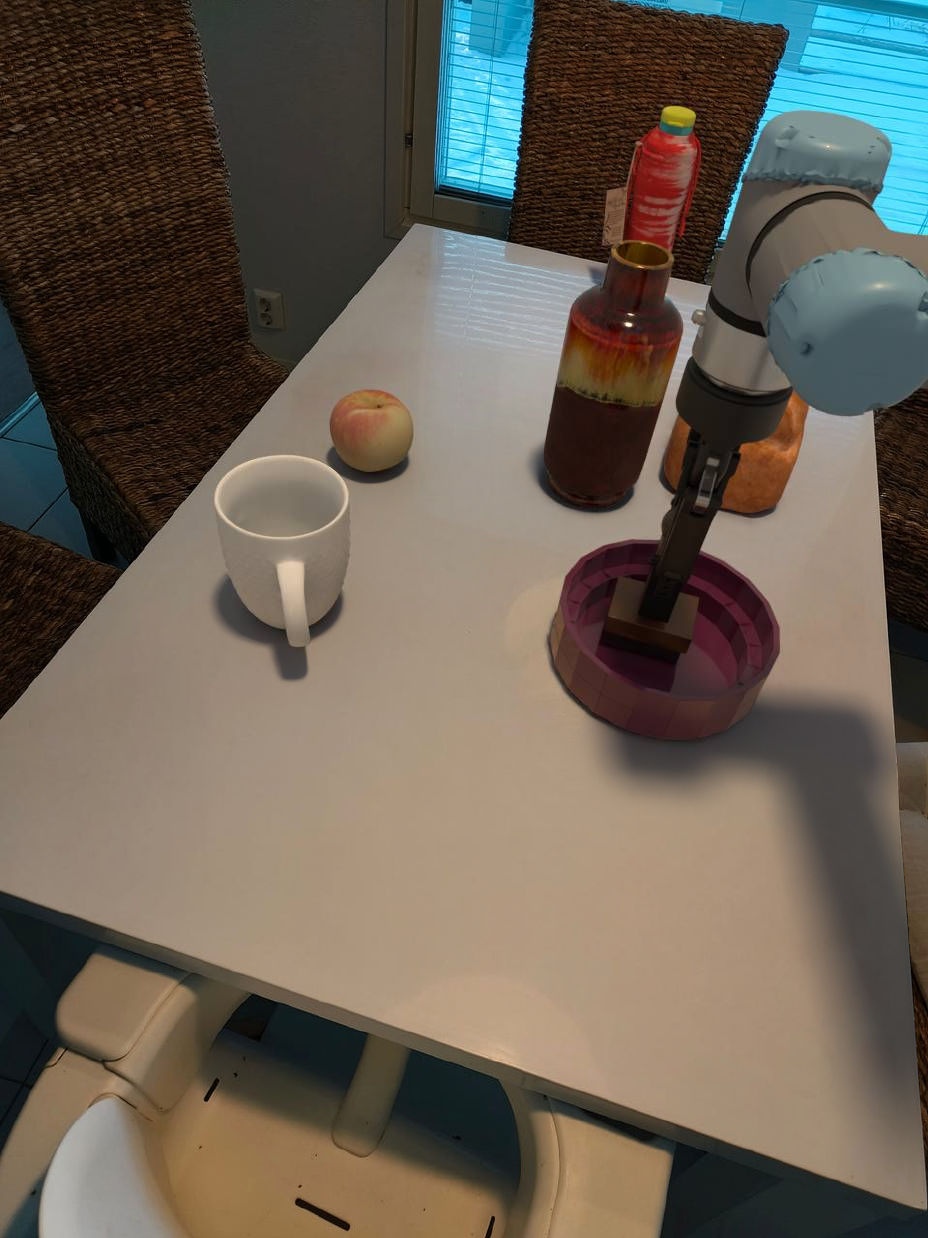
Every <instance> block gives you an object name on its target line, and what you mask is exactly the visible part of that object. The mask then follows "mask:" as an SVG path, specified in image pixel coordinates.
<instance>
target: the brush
mask: <svg viewBox="0 0 928 1238" xmlns="http://www.w3.org/2000/svg"><path fill="white" fill-rule="evenodd" d="M676 508H677V506H675V507H673V508H671V507H670V509H669V510H667V512H666V513H665V514H664V516H663V517H662V520H661V523H660V525H661V526H660V528H661V530H660V531H661V536H662V538H661V537H660V539H661V541H660V544H659V547H658V549H657V552H656V555H658V556H660V555H661V552H662V549H663V546H664V543H665V540H666V537H667V534H668V531H669V528H670V525H671V522H672V519H673V517H674V514H675V511H676ZM662 534H663V535H662ZM653 567H654V566H652V567H651V570H650V573H649V575H648V578H647V581H646V584H645V582H641V581H637V580H634V579H630V578H627V577H623V576H618V579H617V582H616V586H615V589H614V592H613V596H612V600H611V603H610V607H609V610H608V614H607V618H606V621H605V625H604V629H603V630H604V631H607V632H606V636H605V640H604V644H608V645H611V646H615V647H618V648H622V649H625V650H629V651H632V652H635V653H639V654H642V655H646V656H649V657H653V658H656V659H660V660H663V661H667V662H670V663H674V664H676V663H677V661H678V659H679V656H680V654H681V653H683V654H686V653H687V651H688V649H689V646H690V644H691V642H692V639H693V633H694V627H695V621H696V615H697V609H698V604H699V597H695V596H692V595H688V594H684V593H681V592H680V593H679V596H678V598H677V601H676V604H675V606H674V609H673V611H672V614H671V616H670V619H669V621H668V623H665V622H661V621H658V620H654V619H651V618H647V617H644V616H640V615H638V611H639V608H640V605H641V602H642V599H643V596H644V593H645V590H646V587H647V585H648V582H649V579H650V576H651V573H652V570H653ZM644 586H645V587H644Z"/></svg>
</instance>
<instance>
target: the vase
mask: <svg viewBox="0 0 928 1238" xmlns="http://www.w3.org/2000/svg"><path fill="white" fill-rule="evenodd" d="M674 261H675V257H674V255H673V254H672V252H671V253H670V251H668V250H667V249H665V248H664V247H662V246H660V245H657V244H654V243H651V242H646V241H640V240H625V241H620V242H618V243H616V244H614V245H613V246H611V249H610V251H609V255H608V260H607V264H606V267H605V273H604V277H603V281H602V283H600V284H596V285H594V286H591V287H590V288H588V289H586V290H585V291H583V292H582V293H581V294H580V295H578V297H576V299H575V300H573V303H572V304H571V306H570V309H569V314H568V319H567V322H566V328H565V332H564V337H563V343H562V348H561V354H560V359H559V364H558V368H557V369H558V370H557V375H556V379H555V385H554V391H553V396H552V401H551V407H550V411H549V418H548V423H547V427H546V434H545V439H544V446H543V452H542V461H543V464H544V468H545V469H546V471H547V477H546V478H547V483H548V486H549V488H550V490H551V491H552V493H553V494H555V495H556V496H557V497H558V498H559V499H561V500H563V501H565V502H566V503H568V504H571V505H573V506H576V507H580V508H585V509H604V508H609V507H612V506H615V505H616V504H618V503H620V502H621V501H622V500H623V499H624V498H625V497H626V493H627V490H629V489H630V488H632V487H633V486H634V485H635V484H637V482H638V480H639V479H640V477H641V473H642V471H643V468H644V465H645V463H646V460H647V459H646V458H647V456H648V453H649V450H650V446H651V442H652V439H653V436H654V432H655V429H656V426H657V423H658V420H659V417H660V413H661V409H662V407H663V403H664V400H665V396H666V392H667V389H668V386H669V382H670V380H671V376H672V372H673V369H674V367H675V363H676V360H677V356H678V352H679V349H680V345H681V342H682V337H683V334H684V321H683V318H682V315H681V313H680V310H679V309H678V308H677V306H676V305H675V303H674V302H673V301H672V299H670V298H668V297H667V296H666V294H667V292H668V291H667V290H668V288H669V282H670V278H671V275H672V271H673V267H674Z"/></svg>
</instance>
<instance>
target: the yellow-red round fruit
mask: <svg viewBox="0 0 928 1238" xmlns="http://www.w3.org/2000/svg"><path fill="white" fill-rule="evenodd" d="M329 434H330V438H331V441H332V444H333V446H334V448H335V451H336V452H337V454H338V456H339V458H340V459H341V460H342V461H343V462H344V463H345V464H346V465H348V466H349V467H351V468H353V469H355V470H358V471H361V472H367V473H372V472H379V471H384V470H387V469H391V468H392V467H394V466H396V465H398V464H400V463H401V462H402V461H403V460H404V459H405V458H406V456H407V455H408V454H409V451H410V450H411V448H412V444H413V441H414V422H413V418H412V415H411V412H410V410H409V409H408V407H407V406H406V405H405V404H404V403H403V401H401V400H400V398H398V397H397V396H395V395H394V394H393V393H390V392H387V391H384V390H382V389H381V390H380V389H362V390H360V389H359V390H357V391H354V392H351V393H349V394H347V395H345V396H343V397H342V398H341V399H339V400H338V401H337V402H336V404H335V405H334V407H333V409H332V411H331V414H330V418H329Z"/></svg>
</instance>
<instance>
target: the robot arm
mask: <svg viewBox="0 0 928 1238" xmlns="http://www.w3.org/2000/svg"><path fill="white" fill-rule="evenodd" d="M892 153H893V146H892V142H891V140H890V138H889V137H888V136H887V135H886V133H884V132H883V131H882V130H880V129H879V128H877V127H875V126H874V125H872V124H870V123H868V122H865V121H863V120H861V119H857V118H853V117H850V116H847V115H843V114H839V113H835V112H834V113H833V112H827V111H819V110H809V109H808V110H806V109H803V110H802V109H799V110H791V111H785V112H783V113H780V114H777V115H775V116H773V117H772V118H771V119H769V121H767V122H766V124H765V125H764V126H763V127H762V129H761V131H760V134H759V136H758V139H757V142H756V144H755V147H754V150H753V151H752V155H751V157H750V160H749V162H748V164H747V168H746V170H745V172H743V173H742V175H741V179H740V182H741V183H742V184H741V187H740V191H739V194H738V197H737V201H736V204H735V207H734V211H733V213H732V217H731V220H730V223H729V227H728V229H727V233H726V237H725V239H724V242H723V246H722V248H721V249H722V250H721V253H720V256H719V259H718V262H717V266H716V269H715V272H714V276H713V279H712V282H711V286H710V289H709V292H708V296H707V300H706V302H705V310H704V309H695V310H694V311H693V313H692V315H691V318H690V319H691V322H692V323H693V324H694V325H697V326H698V328H697V332H696V335H695V338H694V342H693V345H692V348H691V356H690V357H689V358H688V359H687V361H686V365H685V367H684V371H683V373H682V377H681V380H680V382H679V386H678V390H677V393H676V396H675V409H676V412H677V415H678V414H679V415H680V417H681V418H682V420H683V421H684V422H685V423H686V424H687V425H688V426H690V427H691V428H690V431H689V435H688V439H687V446H686V449H685V452H684V457H683V462H682V466H681V469H682V472H681V475H680V478H679V481H678V485H677V490H675V493H674V496H673V497H672V498H671V500H670V509H671V508H673V507H675V506H677V508H676V511H675V514H674V517H673V519H672V522H671V525H670V528H669V531H668V534H667V537H666V540H665V543H664V546H663V549H662V552H661V555H660V556H658V555H656V553H655V554H651V556H650V559H649V563H648V564H649V565H651V567H652V566H654V567H653V570H652V573H651V576H650V579H649V582H648V585H647V587H646V590H645V593H644V596H643V599H642V602H641V605H640V608H639V611H638V615H640V616H644V617H647V618H651V619H654V620H658V621H661V622H665V623H668V621H669V619H670V616H671V614H672V611H673V609H674V606H675V604H676V601H677V598H678V596H679V593H680V591H681V588H682V586H683V583H685V584H686V583H687V582H688V580H689V579H690V576H691V574H690V573H691V571H692V569H693V566H694V564H695V561H696V559H697V557H698V554H699V552H700V550H701V549H702V547H703V544H704V542H705V540H706V537H707V535H708V532H709V531H710V529H711V525H712V523H713V520H714V519H715V517H716V515H717V514H718V512H719V510H720V509H721V508H720V507H721V506H722V503H723V500H722V499H723V495H724V492H725V489H726V487H727V484H728V481H729V479H730V478H731V477H732V476H734V474H735V472H736V470H737V467H738V465H739V462H740V458H741V453H739V450H740V447H741V445H742V444H747V443H755V442H759V441H762V440H764V439H766V438H768V437H769V436H771V435H772V434H773V433H774V432H775V431H776V429H777V428H778V426H779V423H780V421H781V419H782V416H783V414H784V412H785V409H786V407H787V404H788V402H789V400H790V397H791V395H792V393H793V389H794V391H795V392H796V394H797V395H798V396H799V397H800V398H801V399H802V400H803V401H804V402H805V403H807V404H808V405H809V407H811V408H813V409H815V410H817V411H818V412H822V413H825V414H828V415H830V416H831V415H832V416H837V417H857V416H858V417H859V416H863V415H864V414H865V413H869V412H873V411H875V410H878V409H888V408H889V407H893V406H896V405H897V404H900V403H901V402H903V401H904V400H906V399H907V398H909V397H910V396H911V395H912V394H913V393H914V392H916V391H917V390H919V389H926V390H928V234H927V235H926V234H919V233H910V232H909V233H908V232H899V231H895V230H893V229H889V228H888V226H887V225H886V223H884V221H883V219H881V217H880V216H879V214H878V213H877V212H876V210H875V209H874V207H873V205H874V203H875V201H876V199H877V197H878V195H880V194H881V193H882V192H883V189H884V188H885V186H884V181H885V178H886V174H887V172H888V168H889V165H890V162H891V159H892V156H893V155H892ZM716 487H717V488H716ZM662 535H663V534H662V533H661V536H660V539H659V540H660V541H661V538H662ZM659 544H660V542H659ZM658 547H659V545H658ZM658 547H657V549H658ZM656 552H657V550H656ZM650 570H651V568H650ZM649 573H650V571H649ZM648 575H649V574H648ZM647 578H648V576H647ZM646 581H647V579H646ZM645 584H646V582H645ZM644 587H645V586H644Z"/></svg>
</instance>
